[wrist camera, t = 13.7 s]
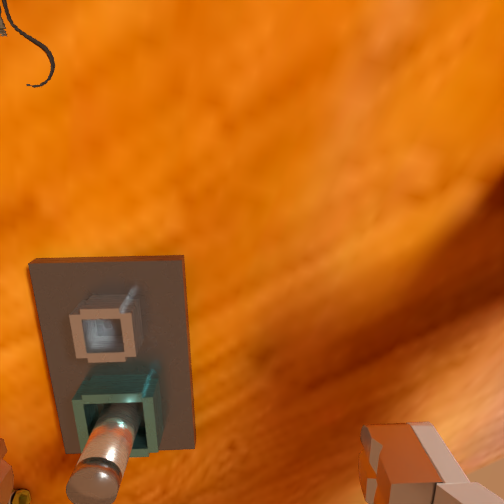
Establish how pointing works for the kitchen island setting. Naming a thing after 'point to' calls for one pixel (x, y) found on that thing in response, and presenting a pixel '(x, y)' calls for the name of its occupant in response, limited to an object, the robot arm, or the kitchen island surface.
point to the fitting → (105, 455)
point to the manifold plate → (118, 345)
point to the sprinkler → (20, 497)
